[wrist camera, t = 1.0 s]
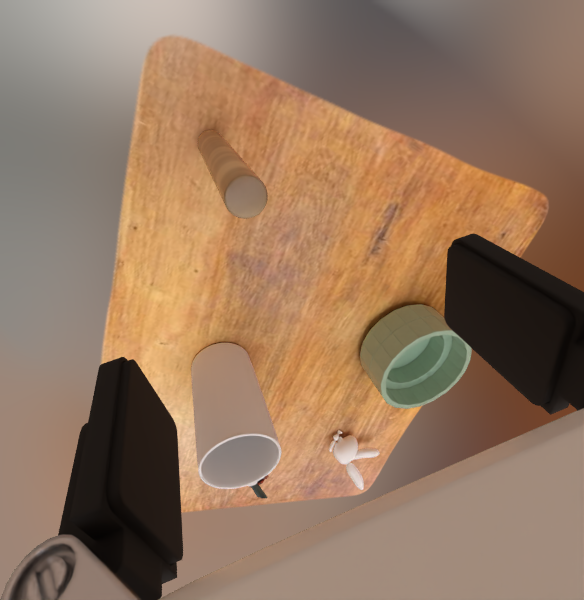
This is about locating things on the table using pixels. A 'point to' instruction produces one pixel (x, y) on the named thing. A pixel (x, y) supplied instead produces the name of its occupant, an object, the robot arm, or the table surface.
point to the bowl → (413, 356)
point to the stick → (232, 176)
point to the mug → (231, 419)
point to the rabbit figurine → (351, 455)
